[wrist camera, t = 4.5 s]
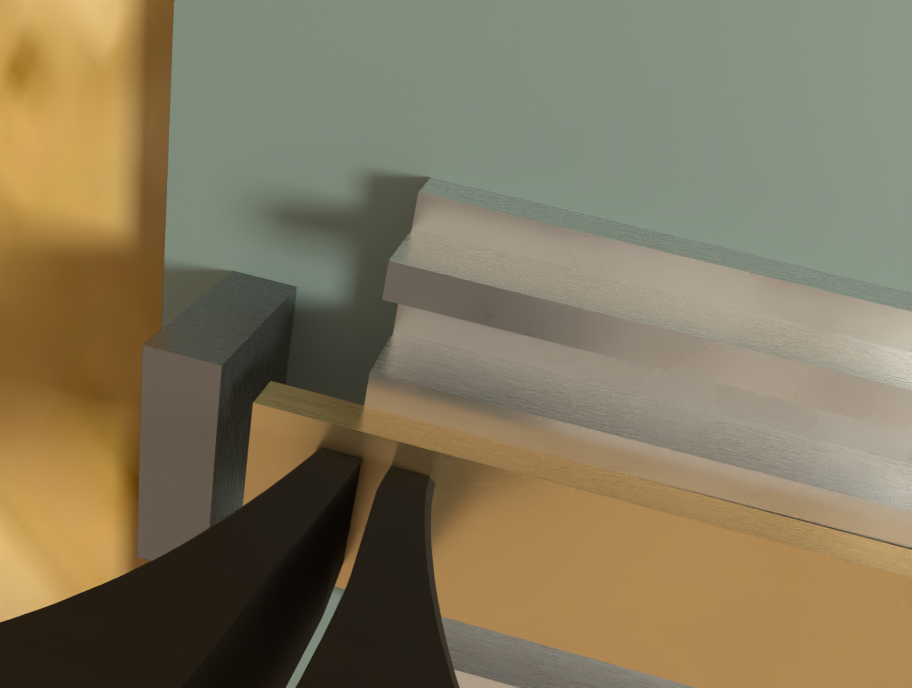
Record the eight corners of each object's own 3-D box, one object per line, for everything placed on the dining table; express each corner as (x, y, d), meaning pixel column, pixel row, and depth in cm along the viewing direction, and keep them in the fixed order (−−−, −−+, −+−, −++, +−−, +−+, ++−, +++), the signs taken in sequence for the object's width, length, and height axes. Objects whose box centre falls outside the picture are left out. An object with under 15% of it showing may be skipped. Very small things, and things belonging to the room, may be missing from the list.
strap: (1025, 741, 13) (1053, 792, 12) (256, 528, 14) (235, 562, 13) (1131, 603, 12) (1169, 650, 11) (273, 377, 13) (250, 406, 12)
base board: (869, 875, 20) (881, 918, 19) (167, 674, 21) (147, 706, 20) (1492, -4, 11) (1571, -1, 10) (216, -270, 12) (185, -289, 11)
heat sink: (913, 741, 17) (982, 916, 13) (211, 548, 17) (128, 671, 14) (1170, 355, 13) (1351, 479, 10) (243, 131, 13) (139, 180, 10)
